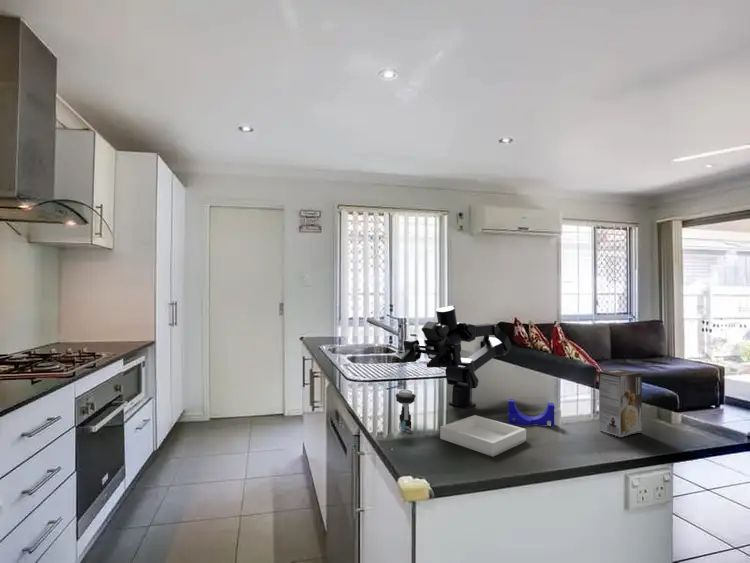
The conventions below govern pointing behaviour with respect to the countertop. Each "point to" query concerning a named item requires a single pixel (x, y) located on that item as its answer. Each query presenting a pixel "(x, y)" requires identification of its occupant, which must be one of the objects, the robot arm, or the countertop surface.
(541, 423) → the blue u-shaped cradle
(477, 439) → the tray
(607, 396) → the coffee box
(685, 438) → the countertop surface
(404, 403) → the push button
